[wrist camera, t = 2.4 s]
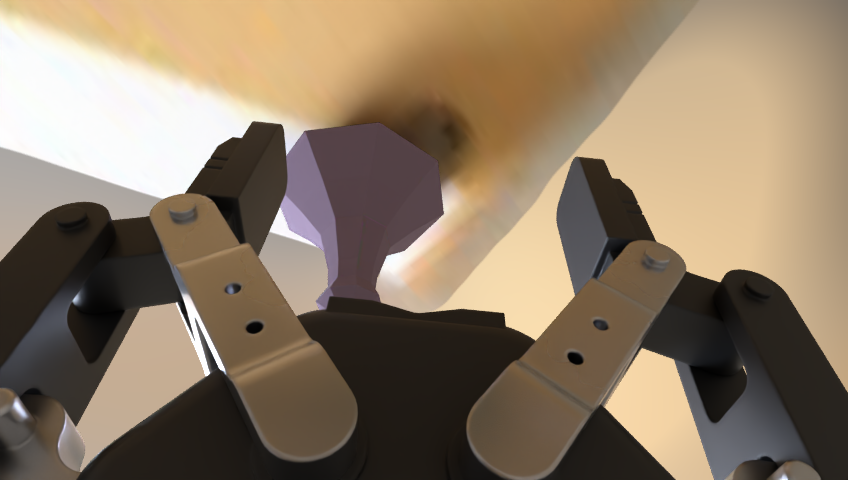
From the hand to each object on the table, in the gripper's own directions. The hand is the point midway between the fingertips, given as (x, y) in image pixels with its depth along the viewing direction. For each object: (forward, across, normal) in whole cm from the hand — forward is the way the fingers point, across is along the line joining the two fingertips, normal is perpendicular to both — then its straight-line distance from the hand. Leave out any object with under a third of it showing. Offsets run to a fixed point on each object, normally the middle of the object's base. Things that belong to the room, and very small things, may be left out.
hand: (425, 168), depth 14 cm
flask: (+31, +6, +20) cm, 38 cm away
